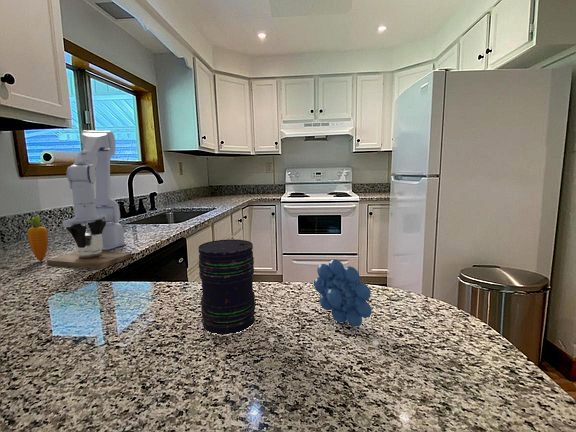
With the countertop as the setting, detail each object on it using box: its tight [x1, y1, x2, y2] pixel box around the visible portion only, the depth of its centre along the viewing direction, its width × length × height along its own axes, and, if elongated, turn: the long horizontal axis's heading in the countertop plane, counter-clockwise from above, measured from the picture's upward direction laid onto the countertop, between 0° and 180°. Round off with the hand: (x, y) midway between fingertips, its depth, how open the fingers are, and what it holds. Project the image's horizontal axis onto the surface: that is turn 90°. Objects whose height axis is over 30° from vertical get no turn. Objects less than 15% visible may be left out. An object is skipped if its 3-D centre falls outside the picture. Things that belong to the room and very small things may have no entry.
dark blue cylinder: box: [198, 238, 256, 334], centre depth 55 cm, size 10×10×15 cm
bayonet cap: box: [74, 232, 103, 258], centre depth 96 cm, size 6×7×7 cm
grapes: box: [313, 258, 373, 327], centre depth 54 cm, size 12×7×12 cm, turn 52°
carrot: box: [25, 215, 49, 262], centre depth 97 cm, size 5×5×15 cm
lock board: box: [46, 250, 133, 270], centre depth 97 cm, size 13×20×2 cm, turn 75°
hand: (89, 245), depth 96 cm, fingers open, 5 cm apart
